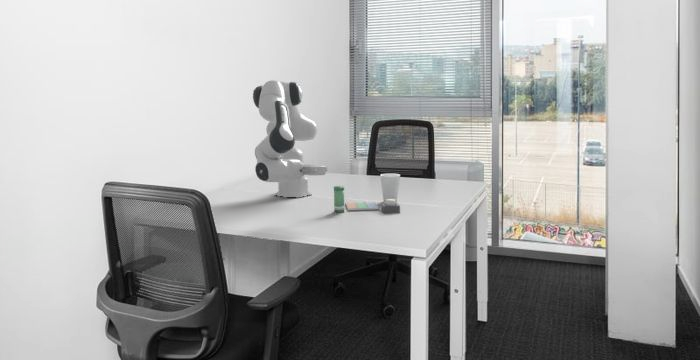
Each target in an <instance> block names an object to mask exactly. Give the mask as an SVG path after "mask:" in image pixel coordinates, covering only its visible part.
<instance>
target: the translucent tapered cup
mask: <svg viewBox="0 0 700 360" xmlns="http://www.w3.org/2000/svg"><path fill="white" fill-rule="evenodd" d="M379 179H380V183H381V184H380V185H381V193H382V200H383V203H386V199H395V200H396V203H398V197H399V196H398V195H399V189H400V188H399V187H400V181H401V174H399V173H381V174H380V176H379Z"/></svg>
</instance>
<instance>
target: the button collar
mask: <svg viewBox="0 0 700 360" xmlns="http://www.w3.org/2000/svg"><path fill="white" fill-rule="evenodd" d="M380 207H381V209H380V210H381V212H383V214H391V213H392V214H394V213H395V214H396V213H400V212H401V206H400V204H399V203H398V202H396V205H393V206H386V205H385V202H382V203H381V206H380Z"/></svg>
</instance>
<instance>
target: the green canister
mask: <svg viewBox="0 0 700 360" xmlns="http://www.w3.org/2000/svg"><path fill="white" fill-rule="evenodd" d="M333 202H334V203H333V210H334V213H336V214H342V213H345V186H344V185H336V186H333Z"/></svg>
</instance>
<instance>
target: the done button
mask: <svg viewBox="0 0 700 360" xmlns="http://www.w3.org/2000/svg"><path fill="white" fill-rule="evenodd" d="M384 203H385V202H384ZM396 203H397V202H396V200H395V199H386V203H385V205H386V206H393V205H396Z"/></svg>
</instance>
